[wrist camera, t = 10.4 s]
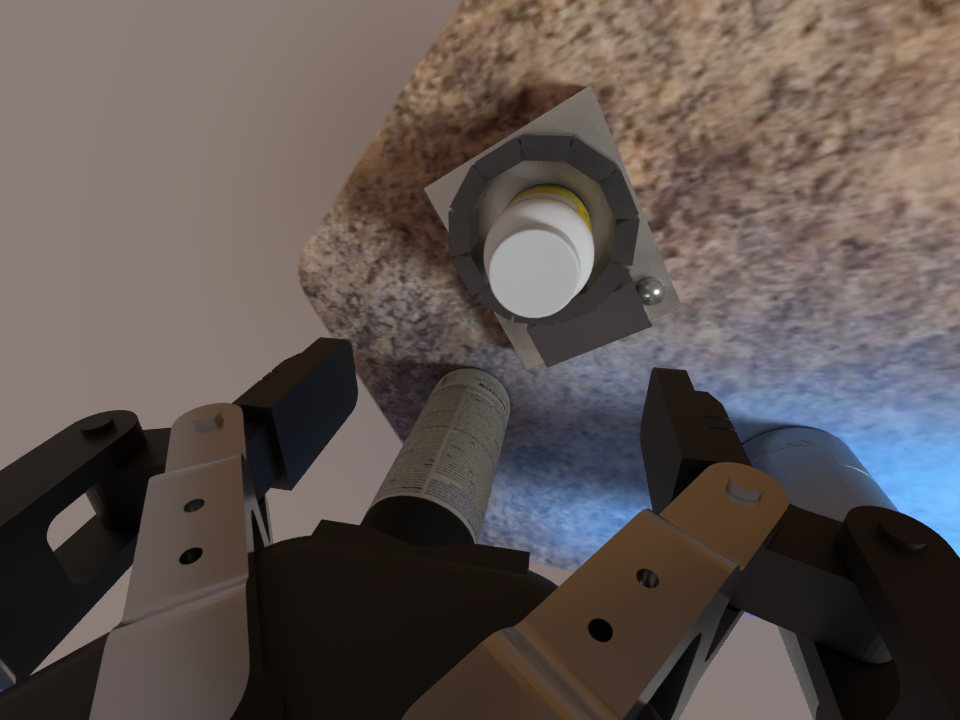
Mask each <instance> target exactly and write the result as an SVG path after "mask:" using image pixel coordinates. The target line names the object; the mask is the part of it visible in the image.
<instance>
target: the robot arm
mask: <svg viewBox="0 0 960 720" xmlns="http://www.w3.org/2000/svg"><path fill="white" fill-rule="evenodd" d="M357 397H358V387H357V380H356V373H355V365H354V358H353V351H352V346H351V344H350V342H349V341H348V340H345V339H334V338H323V337H321V338H319V339H318V340H316V341H315V342H314V343H313V344H312V345H310V346H309V347H308V348H307V349H305V351H303V352H302V353H299V354H297V355H295V356H293V357H291V358H288V359H286V360H284V361H283V362H281V363H280V364H279V365H278V366H277V367H275V368H274V369H273V370H272V372H269V373H268V374H267V375H266V376H264V377H263V378H262V381H261V380H260V381H259V382H257V383H256V384H255V385H254V386H252V387H251V388H250V389H249V390H247V391H246V392H245V393H244V394H243V395H241V396H240V397H239V398H238V399H237V400H235V401H234V402H233V403H232V404H231V403H215V404H209V405H205V406H201V407H198V408H196V409H193V410H191V411H189V412H187V413H185V414H183V415H182V416H181V417H179V418H178V419H177V420H176V421H175V422H174V423H173V425H172V428H162V429H149V430H142V427H141V426H140V423H139V420H138V417H137V415H136V414H135V413H133V412H131V411H126V410H115V411H107V412H103V413H98V414H95V415H92V416H89V417H86V418H84V419H81V420H79V421H77V422H75V423H74V424H72V425H70V426H69V427H67V428H65V429H64V430H63V431H61V432H59V433H58V434H56V435H55V436H53V437H52V438H50V439H48V440H47V441H45V442H44V443H42V444H41V445H39V446H38V447H37V448H35V449H33V450H32V451H30V452H28V453H27V454H25V455H24V456H22V457H21V458H19V459H18V460H16V461H15V462H13V463H12V464H10V465H8V466H7V467H5V468H4V469H2V470H1V471H0V720H678V719H679V718H680V716H681V714H682V713H683V711H684V709H685V707H686V705H687V703H688V702H689V699H690V698H691V695H692V694H693V692H694V690H695V687H696V686H697V684H698V682H699V680H700V679H701V677H702V676H703V674H704V672H705V671H706V669H707V668H708V666H709V665H710V663H711V661H712V660H713V659H714V657H715V656H716V654H717V653H718V651H719V649H720V648H721V646H722V645H723V643H724V642H725V640H726V639H727V637H728V636H729V634H730V633H731V631H732V630H733V628H734V626H735V625H736V624H737V622H738V620H739V619H740V617H741V616H742V614H743V613H744V611H745V612H747V613H750V614H752V615H754V616H757V617H759V618H761V619H764V620H766V621H768V622H771V623H773V624H775V625H777V626H778V629H779V632H780V634H781V637H782V639H783V642H784V645H785V647H786V650H787V652H788V655H789V658H790V661H791V663H792V666H793V667H794V670H795V673H796V675H797V678H798V681H799V683H800V686H801V688H802V691H803V694H804V696H805V699H806V701H807V704H808V707H809V709H810V712H811V715H812V717H813V719H814V720H960V558H959V557H958V555H957V554H956V553H955V551H954V550H953V549H952V548H951V546H950V545H949V544H948V543H947V542H946V541H945V540H944V539H943V538H942V537H941V536H940V535H939V534H937V533H936V532H935V531H933V530H932V529H931V528H929V527H928V526H926V525H925V524H923V523H921V522H919V521H918V520H916V519H914V518H912V517H909V516H907V515H905V514H903V513H900V512H899V511H898V509H897V508H896V507H895V506H894V504H893V503H892V502H891V501H890V499H889V498H888V497H887V496H886V494H885V493H884V492H883V490H882V489H881V488H880V486H879V485H878V484H877V483H876V481H875V480H874V479H873V478H872V476H871V475H870V474H869V472H868V471H867V470H866V469H865V467H864V466H863V465H862V464H861V462H860V461H859V460H858V459H857V457H856V456H855V455H854V454H853V452H852V451H851V450H850V449H849V447H848V446H847V445H846V444H845V443H843V442H842V441H841V440H840V439H839V438H837V437H835V436H833V435H831V434H829V433H827V432H823V431H820V430H816V429H810V428H800V427H799V428H784V429H779V430H774V431H770V432H767V433H764V434H761V435H759V436H756V437H755V438H753V439H751V440H749V441H747V442H746V443H744V444H743V445H742V444H741V442H740V440H739V438H738V435H737V433H736V432H734V430H735V429H734V427H733V425H732V423H731V421H729V417H728V415H727V413H726V411H725V409H724V407H723V405H722V404H721V403H720V402H719V401H718V400H716V399H715V398H714V397H713V396H712V395H710V394H709V393H708V392H702V391H695V390H694V388H693V385H692V383H691V380H690V378H689V376H688V373H687V371H686V370H678V369H667V368H655V367H654V368H653V370H652V372H651V376H650V381H649V386H648V391H647V396H646V401H645V406H644V411H643V416H642V422H641V433H640V440H641V448H642V454H643V459H644V465H645V470H646V476H647V481H648V487H649V493H650V498H651V504H652V509H653V511H652V510H650V509H644V510H642V511H641V512H639V513H638V514H637V515H636V516H635V517H634V518H633V519H632V520H631V521H630V522H628V523H627V524H626V525H625V526H624V527H623V528H622V529H621V530H620V531H619V532H618V533H617V534H615V535H614V536H613V537H612V538H611V539H610V540H609V541H608V542H607V543H606V544H605V545H604V546H602V547H601V548H600V549H599V550H598V551H597V552H596V553H595V554H594V555H593V556H592V557H591V558H589V559H588V560H587V561H586V562H585V563H584V564H583V565H582V566H581V567H580V568H579V569H577V570H576V571H575V572H574V573H573V574H572V575H571V576H570V577H569V578H568V579H567V580H566V581H565V582H564V583H562V584H561V585H560V586H559V587H558V586H557V585H556V584H554V583H553V582H551V581H550V580H548V579H546V578H544V577H543V576H541V575H539V574H537V573H534V572H532V571H529V557H530V552H525V551H519V550H513V549H506V548H500V547H494V546H487V545H481V544H461V545H444V546H426V547H419V546H414V545H411V544H409V543H407V542H404V541H402V540H399V539H397V538H395V537H392V536H390V535H388V534H385V533H383V532H381V531H378V530H376V529H373V528H371V527H367V526H360V525H354V524H348V523H341V522H335V521H329V520H321V521H320V523H319V524H318V526H317V527H316V529H315V531H314V532H313V534H312V535H311V536H303V537H297V538H291V539H288V540H284V541H280V542H277V543H274V544H273V538H272V530H271V522H270V514H269V507H268V502H267V498H266V492H267V491H268V490H269V489H270V488H276V489H283V490H290V491H291V490H292V489H293V488H294V486H295V485H296V484H297V483H298V481H299V480H300V479H301V477H302V476H303V475H304V474H305V472H306V471H307V470H308V468H309V467H310V466H311V464H312V463H313V462H314V461H315V459H316V458H317V457H318V455H319V454H320V453H321V451H322V450H323V449H324V447H325V446H326V445H327V444H328V442H329V441H330V440H331V439H332V437H333V436H334V435H335V433H336V432H337V431H338V430H339V428H340V427H341V425H342V424H343V423H344V422H345V420H346V419H347V418H348V416H349V415H350V414H351V413H352V411H353V410H354V408H355V405H356V402H357ZM84 493H86V495H87V497H88V499H89V501H90V503H91V505H92V507H93V509H94V511H95V512H96V515H95V516H94V517H93V518H91V519H90V520H89V521H88V522H87V523H86V524H85V525H83V526H82V527H81V528H80V529H79V530H78V531H77V532H76V533H74V535H72V536H71V537H70V538H69V539H68V540H66V541H65V542H64V543H63V544H62V545H61V546H60V547H59V548H58V549H56V550H55V551H54V552H53V551H52V549H51V547H50V546H49V544H48V542H47V531H48V528H49V525H50V523H51V522H52V520H53V519H54V518H55V517H56V516H57V515H58V514H59V513H60V512H61V511H63V510H64V509H65V508H66V507H68V506H69V505H70V504H71V503H73V502H74V501H75V500H76V499H77V498H79V497H80V496H81V495H82V494H84ZM132 564H133V566H132V572H131V577H130V582H129V587H128V593H127V598H126V604H125V609H124V614H123V618H122V620H121V622H120V624H119V625H117V626H116V627H114V628H113V629H112V631H110V632H108V633H106V634H105V635H103V636H101V637H99V638H97V639H96V640H94V641H92V642H90V643H88V644H87V645H85V646H83V647H81V648H79V649H78V650H76V651H74V652H72V653H70V654H69V655H67V656H65V657H63V658H61V659H59V660H58V661H56V662H54V663H52V664H50V665H49V666H47V667H45V668H43V669H41V670H40V671H38V672H36V673H34V674H32V675H31V676H29V675H30V674H31V673H32V672H33V671H34V670H35V669H36V668H37V667H38V666H39V665H40V664H41V663H42V661H43V660H44V659H45V658H46V657H47V656H48V655H49V654H50V653H51V652H52V650H54V648H55V647H56V646H57V645H58V644H59V643H60V642H61V641H62V640H63V639H64V638H65V637H66V635H67V634H68V633H69V632H70V631H71V630H72V629H73V628H74V627H75V626H76V625H77V623H79V621H80V620H81V619H82V618H83V617H84V616H85V615H86V614H87V613H88V612H89V611H90V609H92V607H93V606H94V605H95V604H96V603H97V602H98V601H99V600H100V599H101V598H102V597H103V595H104V594H105V593H106V592H107V591H108V590H109V589H110V588H111V587H112V586H113V585H114V584H115V583H116V582H117V580H118V579H119V578H120V577H121V576H122V575H123V574H124V573H125V572H126V570H128V569H129V567H130V566H131V565H132Z"/></svg>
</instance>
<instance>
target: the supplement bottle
mask: <svg viewBox="0 0 960 720" xmlns="http://www.w3.org/2000/svg"><path fill="white" fill-rule="evenodd" d="M593 262H594V242H593V236H592V228H591V220H590V216H589V213H588V210H587V208H586V206H585V204H584V203H583V201H582V200H581V199H580V197H579V196H578V195H577V194H576V193H574V192H573V191H571V190H570V189H568V188H566V187H564V186H561V185H558V184H552V183H541V184H536V185H533V186H530V187H528V188H526V189H524V190H522V191H521V192H520V193H518V194H517V195H516V196H515V197H514V198H513V199H512V200H511V201H510V203H509V204H508V205H507V206H506V208H505V209H504V211H503V212H502V213H501V215H500V216H499V217H498V219H497V220H496V221H495V222H494V224H493V226H492V227H491V229H490V231H489V233H488V236H487V238H486V242H485V246H484V266H485V270H486V274H487V276H488V279H489V283H490V287H491V290H492V292H493V294H494V296H495V297H496V299H497V300H498V301H499V302H500V304H501V305H502V306H503V307H505V308H506V309H507V310H509V311H511V312H512V313H514V314H517V315H519V316H523V317H528V318H540V317H545V316H549V315H551V314H554V313H556V312H558V311H559V310H561V309H562V308H563V307H565V306H566V305H567V304H568V303H569V301H570V300H571V299H572V298H573V297H574V296H576V295H577V294H578V293H579V292H580V290H581V289H582V288H583V287H584V285H585V284H586V282H587V280H588V278H589V276H590V274H591V271H592V267H593Z"/></svg>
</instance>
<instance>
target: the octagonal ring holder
mask: <svg viewBox="0 0 960 720" xmlns="http://www.w3.org/2000/svg"><path fill="white" fill-rule="evenodd" d="M541 183H552V184H558V185H561V186H564V187H566V188H568V189H570V190H571V191H573V192H574V193H576V194H577V195H578V196H579V197H580V199H581V200H582V201H583V203H584V204H585V206H586V208H587V210H588V213H589V216H590V220H591V228H592V236H593V242H594V262H593V267H592V271H591V274H590V276H589V278H588V280H587V282H586V284H585V285H584V287H583V288H582V289H581V290H580V292H579V293H578V294H577V295H576V296H574V297H573V298H572V299H571V300H570V301H569V303H568V304H567V305H566V306H565V307H563V308H562V309H561V310H559V311H558V312H556V313H554V314H551V315H549V316H545V317H540V318H528V317H523V316H519V315H517V314H514V313H512V312H511V311H509V310H507V309H506V308H505V307H503V306H502V305H501V304H500V302H499V301H498V300H497V299H496V297H495V296H494V294H493V292H492V290H491V287H490V283H489V279H488V276H487V274H486V270H485V266H484V246H485V242H486V238H487V236H488V233H489V231H490V229H491V227H492V226H493V224H494V222H495V221H496V220H497V219H498V217H499V216H500V215H501V213H502V212H503V211H504V209H505V208H506V206H507V205H508V204H509V203H510V201H511V200H512V199H513V198H514V197H515V196H516V195H517V194H518V193H520V192H521V191H522V190H524V189H526V188H528V187H530V186H533V185H536V184H541ZM424 190H425V192H426V194H427V196H428V197H429V199H430V201H431V203H432V204H433V206H434V208H435V210H436V211H437V213H438V215H439V217H440V218H441V220H442V222H443V224H444V226H445V227H446V229H447V231H448V233H449V256H454V257H453V258H452V259H451V261H452V263H453V265H454V267H455V268H456V270H457V272H458V273H459V275H460V277H461V279H462V280H463V282H464V284H465V286H466V287H467V289H468V291H469V292H470V294H471V296H473V295H475V294H477V293H478V295H477V297H476V298H475V300H476V301H478V302H480V303H481V304H483V305H484V306H486V307H488V308H489V309H491V310H492V311H493V312H494V313H495V315H496V317H497V319H498V320H499V322H500V324H501V326H502V327H503V329H504V331H505V333H506V335H507V336H508V338H509V340H510V342H511V343H512V345H513V347H514V349H515V350H516V352H517V354H518V356H519V357H520V359H521V361H522V363H523V364H524V366H525V368H526V370H528V369H530V368H533V367H535V366H538V365H540V364H543V363H545V365H546V367H550V366H552V365H555V364H558V363H560V362H563V361H565V360H568V359H570V358H573V357H575V356H578V355H580V354H583V353H586V352H588V351H591V350H593V349H596V348H598V347H601V346H603V345H606V344H608V343H611V342H613V341H616V340H619V339H621V338H624V337H626V336H629V335H631V334H634V333H636V332H639V331H641V330H644V329H647V328H649V327H652V325H651V322H650V321H651V320H653V319H656V318H658V317H661V316H663V315H666V314H668V313H671V312H673V311H676V310H678V309H681V308H682V306H681V303H680V301H679V299H678V296H677V294H676V291H675V289H674V286H673V284H672V282H671V279H670V277H669V274H668V272H667V269H666V267H665V265H664V262H663V260H662V257H661V255H660V252H659V250H658V248H657V245H656V243H655V240H654V238H653V235H652V233H651V231H650V228H649V226H648V223H647V221H646V218H645V216H644V213H643V211H642V209H641V206H640V204H639V201H638V199H637V196H636V194H635V192H634V189H633V187H632V184H631V182H630V179H629V177H628V175H627V172H626V170H625V167H624V165H623V162H622V160H621V158H620V155H619V153H618V150H617V148H616V145H615V143H614V140H613V138H612V136H611V133H610V131H609V128H608V126H607V123H606V121H605V119H604V116H603V114H602V111H601V109H600V106H599V104H598V102H597V99H596V97H595V94H594V92H593V89H592V87H591V85H590V86H588V87H587V88H585V89H583V90H582V91H580V92H578V93H577V94H575V95H574V96H572V97H570V98H569V99H567V100H566V101H564V102H562V103H561V104H559V105H558V106H556V107H554V108H553V109H551V110H549V111H548V112H546V113H545V114H543V115H541V116H540V117H538V118H537V119H535V120H533V121H532V122H530V123H529V124H527V125H525V126H524V127H522V128H520V129H519V130H517V131H516V132H514V133H512V134H511V135H509V136H508V137H506V138H504V139H503V140H501V141H500V142H498V143H496V144H495V145H493V146H491V147H490V148H488V149H487V150H485V151H483V152H482V153H480V154H479V155H477V156H475V157H474V158H472V159H470V160H469V161H467V162H466V163H464V164H462V165H461V166H459V167H458V168H456V169H454V170H453V171H451V172H450V173H448V174H446V175H445V176H443V177H441V178H440V179H438V180H437V181H435V182H433V183H432V184H430V185H429V186H427V187H425V188H424Z"/></svg>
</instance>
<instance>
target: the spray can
mask: <svg viewBox="0 0 960 720" xmlns="http://www.w3.org/2000/svg"><path fill="white" fill-rule="evenodd" d="M509 415H510V399H509V395H508V392H507V389H506V388H505V387H504V385H503V384H502V383H501V382H500V381H499V380H498V379H497V378H496V377H495V376H493V375H492V374H490V373H488V372H486V371H484V370H480V369H477V368H467V369H457V370H454V371H451V372H449V373H447V374H446V375H445V376H444V377H443V378H442V379H441V380H440V381H439V382H438V383H437V384H436V386H435V388H434V389H433V391H432V393H431V395H430V397H429V399H428V401H427V402H426V404H425V406H424V408H423V410H422V412H421V413H420V415H419V417H418V419H417V421H416V422H415V424H414V426H413V428H412V430H411V432H410V434H409V436H408V437H407V439H406V441H405V443H404V445H403V447H402V449H401V450H400V452H399V454H398V456H397V458H396V460H395V461H394V463H393V465H392V467H391V469H390V471H389V472H388V474H387V476H386V478H385V480H384V481H383V483H382V485H381V487H380V489H379V491H378V492H377V495H376V496H375V498H374V500H373V502H372V504H371V505H370V507H369V509H368V511H367V513H366V515H365V517H364V519H363V521H362V522H361V524H360V526H367V527H371V528H373V529H376V530H378V531H381V532H383V533H385V534H388V535H390V536H392V537H395V538H397V539H399V540H402V541H404V542H407V543H409V544H411V545H414V546H419V547H426V546H444V545H461V544H478V542H479V538H480V534H481V530H482V526H483V522H484V518H485V514H486V510H487V505H488V501H489V497H490V493H491V489H492V485H493V481H494V477H495V472H496V468H497V464H498V460H499V456H500V452H501V448H502V444H503V439H504V436H505V431H506V427H507V423H508V419H509Z"/></svg>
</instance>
